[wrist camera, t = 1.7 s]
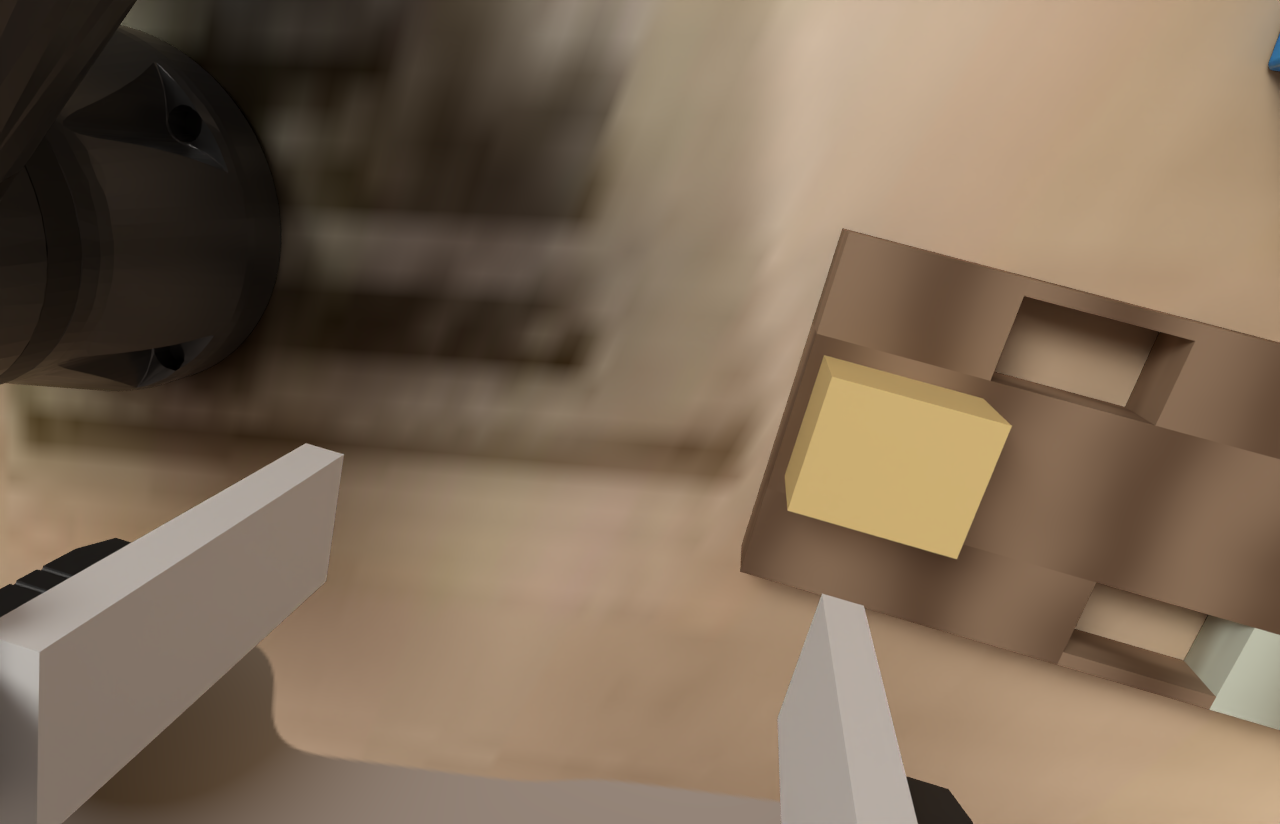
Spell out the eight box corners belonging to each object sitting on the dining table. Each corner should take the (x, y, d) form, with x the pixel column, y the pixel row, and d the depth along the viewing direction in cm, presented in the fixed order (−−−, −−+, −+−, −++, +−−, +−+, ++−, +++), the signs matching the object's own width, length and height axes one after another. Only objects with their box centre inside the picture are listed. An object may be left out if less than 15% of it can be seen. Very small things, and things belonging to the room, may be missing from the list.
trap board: (741, 545, 35) (738, 615, 29) (842, 228, 31) (861, 238, 25) (1322, 714, 33) (1438, 824, 28) (1512, 403, 29) (1695, 456, 23)
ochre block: (784, 475, 31) (787, 510, 28) (824, 355, 30) (832, 376, 26) (935, 518, 31) (956, 559, 28) (983, 398, 29) (1012, 425, 26)
